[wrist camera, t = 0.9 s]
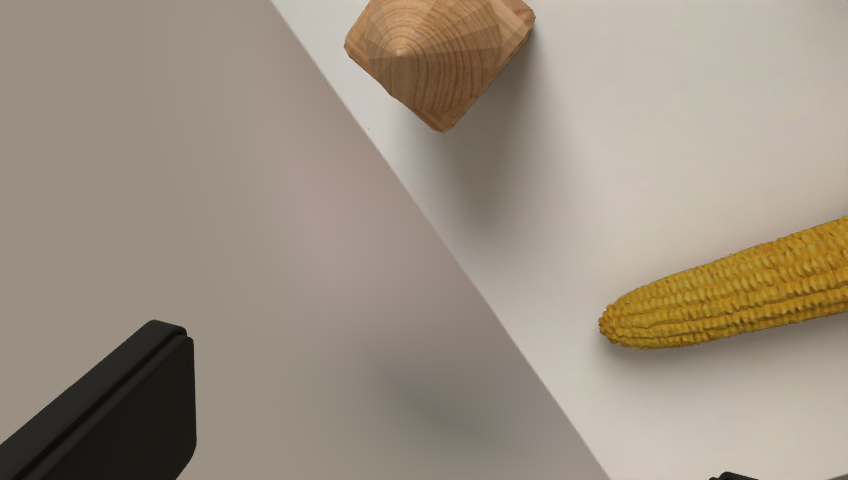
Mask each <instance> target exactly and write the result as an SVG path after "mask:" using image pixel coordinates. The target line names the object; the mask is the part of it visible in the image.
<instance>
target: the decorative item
mask: <svg viewBox="0 0 848 480" xmlns="http://www.w3.org/2000/svg"><path fill="white" fill-rule="evenodd" d="M535 18H536V17H535V15H534V13H533V10H532V9H531V8H530V7H529V6H527V5H526V4H525V3H524V2H523V1H522V0H370V2H369V3H368V5H367V6H366V8H365V9H364V11H363V12H362V14H361V15H360V17H359V18H358V20H357V21H356V23H355V24H354V25H353V27H352V28H351V30H350V31H349V33H348V34H347V36H346V40H345V44H344V48H345V50H346V51H347V53H348V55H349V57H350V58H351V59H353V60H354V61H355V62H356V63H357V64H358V65H359V66H361V67H362V68H363V69H364V70H365V71H366V72H367V73H369V74H370V75H371V76H372V77H373V78H374V79H376V80H377V81H378V82H379V83H380V84H381V85H382V86H383V87H384V88H385V90H386V91H387V92H388V93H389V94H390V95H391V96H392V97H394V98H396V99H397V100H399V101H400V102H402V103H403V104H404V105H405V106H406V107H408V108H409V109H410V110H411V111H412V112H413V113H415V114H416V115H417V116H418V117H419V118H420V119H421V120H423V121H424V122H425V123H426V124H427V125H428V126H429V127H431V128H432V129H433V130H436V131H439V132H442V133H443V132H445V131H447V130H449V129H451V128H452V127H453V126H454V125H455V124H456V123H457V122H458V120H459V119H460V118H461V117H462V116H463V115H464V113H465V112H466V111H467V110H468V109H469V108H470V106H471V105H472V104H473V103H474V102H475V101H476V99H477V98H478V97H479V96H480V95H481V94H482V92H483V91H484V90H485V89H486V88H487V87H488V85H489V84H490V83H491V82H492V81H493V80H494V78H495V77H496V76H497V75H498V74H499V73H500V71H501V70H502V69H503V68H504V67H505V66H506V65H507V63H508V62H509V61H510V60H511V59H512V58H513V56H514V55H515V54H516V53H517V52H518V51H519V49H520V48H521V47H522V46H523V45H524V44H525V42H526V41H527V40H528V37H529V35H530V32H531V29H532V27H533V24H534V21H535Z"/></svg>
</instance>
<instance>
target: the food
mask: <svg viewBox="0 0 848 480" xmlns="http://www.w3.org/2000/svg"><path fill="white" fill-rule="evenodd" d="M606 309H607V311H605V312H603V317H602V318H599V321H598V322H599V326H600V328H599V329H600V333H601V334H603V335H604V336H606V337H607V338H608V339H609V340H610V341H611V343H613V344H617V343H618V344H619V345H621V346H623V347H627V346H629V347H631V348H635V349H644V350H647V349H661V348H676V347H684V346H693V345H694V344H698V345H699V344H700V343H702V342H709V341H713V340H717V339H719V338H722V337H730V336H733V335H737V334H741V333H745V332H748V333H749V332H754V331H756V330H762V329H765V328H773V327H779V326H782V325H787V324H791V323H799V321H807V320H809V319H816V318H818V317H823V316H826V317H827V316H830V315H833V314H838V313H842V312H846V311H848V216H844V217H843V218H841V219H837V220H834V221H831V222H828V223H825V224H822V225H819V226H816V227H813V228H810V229H806V230H803V231H800V232H797V233H794V234H791V235H789V236H786V237H784V238H778V239H777V240H776V241H774V242H767V243H764V244H760V245H757V246H754V247H751V248H748V249H745V250H742V251H740V252H738V253H736V254H734V255H733V254H730V255H729V257H725V258H721V259H718V260H716V261H714V262H711V263H709V264H705V265H702V266H697V267H696V268H691V269H688V270H685V271H682V272H679V273H676V274H673V275H670V276H667V277H665V278H662V279H660V280H658V281H655V282H653V283H650V284H649V285H645V286H642V287H640V288H637V289H635V290H634V291H631V292H629V293H627V294H626V295H624V296H623V297H620V298H619V299H618V300H617V301H616V302H615V303H613V305H612V304H609V305H608V306H607V307H606Z"/></svg>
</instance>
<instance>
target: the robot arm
mask: <svg viewBox="0 0 848 480" xmlns="http://www.w3.org/2000/svg"><path fill="white" fill-rule="evenodd" d="M194 373H195V372H194V344H193V340H192V338H190V337H187V332H186V330H185V328H183V327H181V326H177V325H173V324H169V323H165V322H161V321H157V320H151V321H149V322H148V323H146V324H145V325H144V326H142V327H141V328H140V329H139V330H138V331H136V332H135V333H134V334H133V335H132V336H130V337H129V338H128V339H127V340H126V341H125V342H123V343H122V344H121V345H120V346H119V347H117V348H116V349H115V350H114V351H113V352H112V353H110V354H109V355H108V356H107V357H106V358H104V359H103V360H102V361H101V362H99V363H98V364H97V365H96V366H95V367H94V368H92V369H91V370H90V371H89V372H88V373H86V374H85V375H84V376H83V377H82V378H80V379H79V380H78V381H77V382H76V383H74V384H73V385H72V386H70V387H69V388H68V389H67V390H65V391H64V392H63V393H62V394H61V395H60V396H58V397H57V398H56V399H55V400H53V401H52V402H51V403H50V404H49V405H47V406H46V407H45V408H44V409H43V410H41V411H40V412H39V413H38V414H37V415H36V416H34V417H33V418H32V419H31V420H30V421H28V422H27V423H26V424H25V425H24V426H22V427H21V428H20V429H19V430H18V431H16V432H15V433H14V434H13V435H12V436H10V437H9V438H8V439H7V440H6V441H4V442H3V443H2V444H1V445H0V480H176V478H177V477H178V476H179V474H180V473H181V472H182V471H183V469H184V468H185V467H186V465H187V464H188V463H189V461H190V460H191V458H192V456H193V454H194V451H195V448H196V441H197V438H196V405H195V374H194ZM709 480H758V479H754V478H750V477H747V476H743V475H739V474H735V473H731V472H724V473H722V474H721V475H720V477H719V478H715V477H712V478H710V479H709Z"/></svg>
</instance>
